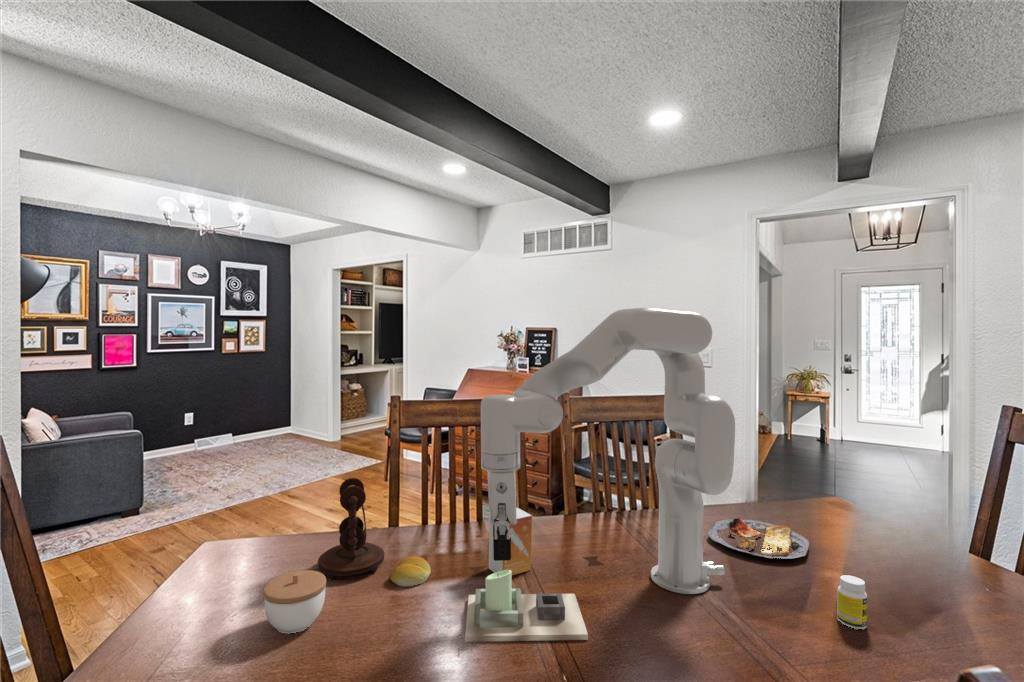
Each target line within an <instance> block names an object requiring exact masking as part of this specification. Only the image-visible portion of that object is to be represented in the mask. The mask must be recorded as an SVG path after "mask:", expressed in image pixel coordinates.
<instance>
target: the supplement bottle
mask: <svg viewBox="0 0 1024 682" xmlns="http://www.w3.org/2000/svg"><path fill="white" fill-rule="evenodd" d="M836 595H837V598H836V599H837V600H836V601H837V604H836V605H837V606H836V608H837V609H836V619H837V621H838V622H839V621H840V622H841V623H842V624H841V623H840V622H839V623H840V624H841V625H843V624H844V625H846V626H848V627H847V628H849V627H851V628H850V629H852V628H854V630H858V629H862V630H865V629H866V628H867V626H868V623H867V622H868V594H867V593H866V582H865V580H864V579H862V578H859V577H857V576H854V575H850V574H849V575H848V574H846V575H845V574H844V575H841V576H839V586H838V587H837V594H836ZM844 625H843V626H844ZM846 626H845V627H846Z"/></svg>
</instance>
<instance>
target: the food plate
mask: <svg viewBox="0 0 1024 682" xmlns="http://www.w3.org/2000/svg"><path fill="white" fill-rule="evenodd" d="M725 528H728V529H730V530H729V533H730V535H733V536H739V537H744V538H743V539H742V541H740V542H737V545H736V547H735V546H733V545H730V544H729V543H728V542H727V541H726V540H725V541H726V542H727V543H726V542H725V541H724V540H723V539H722V538H721V537H720V538H719V536H717V535H718V534H717V532H721V530H722V529H725ZM752 528H756V529H762V530H764V531H766V533H765V534H764V533H760V532H758V531H756V530H753V529H752ZM722 533H723V532H722ZM707 535H708V537H709V538H710V540H712V541H714V542H716V543H719V544H720V545H723V546H725V547H727V548H730V549H732V550H735V551H737V552H742V553H746V554H750V555H751V556H757V557H764V558H767V559H773V558H774V559H773V560H778V558H779V560H782V559H783V560H784V559H785V560H787V559H789V560H790V559H796V558H797V559H798V558H801V557H805V556H806V555H807V553H808V551H809V550H808V549H809V547H810V541H809V540H808V539H807V537H806V538H805V537H804V536H803V535H801V534H799V533H797V532H796V531H795V530H792V527H791V526H790V525H779V524H778V525H777V524H773V523H769V522H766V521H763V520H757V519H750V518H749V519H746V518H745V519H744V518H740V517H737V518H728V519H722V520H720V521H715V522H714V524H713V525H712V526H711V527H710V528H709V531H708V532H707ZM721 535H722V534H721ZM730 535H729V536H730ZM759 535H765V537H764V542H762V543H763V545H762V546H763V547H762V548H765V549H761V550H760V551H761V554H763V555H761V554H760V553H755V552H752V551H751V552H749V551H745V550H742V549H740V548H737V546H740V547H742V548H745V549H748V550H752V549H753V550H754V549H755V547H756V546H755V540H752V539H749V538H747V537H756V536H759ZM718 538H719V539H718ZM791 539H792V540H791ZM791 542H793V543H792V544H791ZM768 545H770V546H768ZM754 546H755V547H754ZM789 546H791V547H789ZM769 547H770V548H772V549H770V550H767V548H768V549H769ZM777 547H779V548H782V551H780V552H779V551H777ZM790 548H792V549H793V551H792V553H789V550H790ZM762 550H764V551H762ZM772 551H773V552H772ZM767 555H769V556H767ZM772 556H774V557H772ZM775 558H777V559H775ZM780 558H781V559H780Z"/></svg>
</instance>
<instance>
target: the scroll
mask: <svg viewBox="0 0 1024 682" xmlns="http://www.w3.org/2000/svg"><path fill="white" fill-rule="evenodd" d="M338 493H339V495H340V496H339V503H340V506H341V507H342V508H343V509H344V510H345V511H346V512H347V513H348V516H346V517H345V518H344V519H343V520H341V522H340V523H339V527H338V532H339V539H338V540H339V544H338V545H335V546H333V547H331V548H329V549H327V550H326V551H324V552H322V554H321V555H320V556H319V557H318V560H317V567H318V570H319V572H321V573H322V574H325V575H327V578H328V580H329V579H331V578H333V576H334V577H335V576H336V577H337V576H338V577H347V576H349V577H350V576H356V575H359V574H360V575H361V574H364V573H367V572H370V571H371V573H372V574H376V572H377V569H378V567H379V566H381V564H382V563H383V562H384V560H385V551H384V548H382V547H381V546H379V545H377V544H375V543H371V542H367V523H366V513H365V507H364V504H365V502H366V499H367V495H366V491H365V484H364V483H363V482H362V480H360V479H359V478H356V477H351V478H347V479H345V480H344V481H343V482H342V483H341V484H340V486H339V492H338ZM360 509H362V517H363V520H362V519H361V518H360V517H358V516H357V513H358V511H359V510H360ZM331 580H332V579H331Z"/></svg>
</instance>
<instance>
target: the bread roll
mask: <svg viewBox="0 0 1024 682" xmlns="http://www.w3.org/2000/svg"><path fill="white" fill-rule="evenodd" d="M431 572H432V571H431V566H430V563H429V562H428V561H427V560H425V558H423V557H420V556H409V557H405V558H403V559H402V560H401V561H399V563H398V564H397V566H396V567H394V569H392V570H391V573H390V580H391V581H392V582H393V583H394V584H395V585H397V586H398V587H403V588H405V587H406V588H408V587H409V588H410V587H414V585H415V586H418V584H419V585H422V584H423V583H425V582H426V581H427V580H428V578H429V577H430V576H431Z"/></svg>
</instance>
